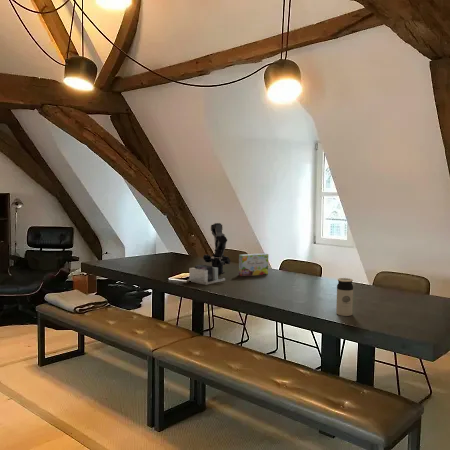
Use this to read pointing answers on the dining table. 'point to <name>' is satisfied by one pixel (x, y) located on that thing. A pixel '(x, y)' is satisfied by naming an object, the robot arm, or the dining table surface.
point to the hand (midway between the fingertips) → (212, 269)
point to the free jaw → (214, 273)
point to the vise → (201, 276)
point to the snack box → (253, 264)
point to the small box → (206, 269)
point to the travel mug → (344, 297)
